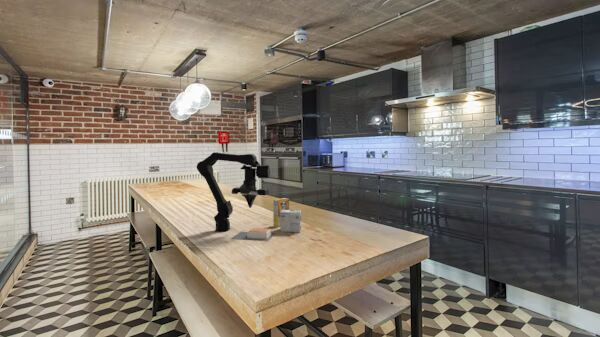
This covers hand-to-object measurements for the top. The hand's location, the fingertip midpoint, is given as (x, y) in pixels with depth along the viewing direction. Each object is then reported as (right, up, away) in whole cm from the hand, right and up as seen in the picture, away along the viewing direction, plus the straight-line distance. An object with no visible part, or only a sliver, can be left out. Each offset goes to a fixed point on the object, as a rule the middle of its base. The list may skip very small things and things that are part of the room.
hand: (250, 207), depth 171 cm
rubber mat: (+3, -13, -9) cm, 17 cm away
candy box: (+16, -12, +13) cm, 24 cm away
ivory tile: (+1, -12, -9) cm, 15 cm away
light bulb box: (+21, -13, +2) cm, 25 cm away
